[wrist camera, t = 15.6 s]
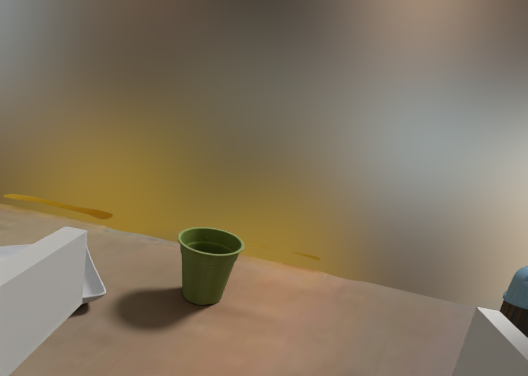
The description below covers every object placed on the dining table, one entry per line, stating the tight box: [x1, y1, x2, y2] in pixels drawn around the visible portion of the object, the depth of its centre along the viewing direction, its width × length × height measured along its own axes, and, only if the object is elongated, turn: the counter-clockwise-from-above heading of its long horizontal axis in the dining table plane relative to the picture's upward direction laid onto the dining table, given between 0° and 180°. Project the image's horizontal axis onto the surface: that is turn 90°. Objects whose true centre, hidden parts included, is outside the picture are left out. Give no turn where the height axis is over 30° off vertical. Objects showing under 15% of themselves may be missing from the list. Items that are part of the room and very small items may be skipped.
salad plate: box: [0, 244, 106, 304], centre depth 59 cm, size 21×21×3 cm
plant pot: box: [178, 227, 244, 305], centre depth 66 cm, size 12×12×11 cm
